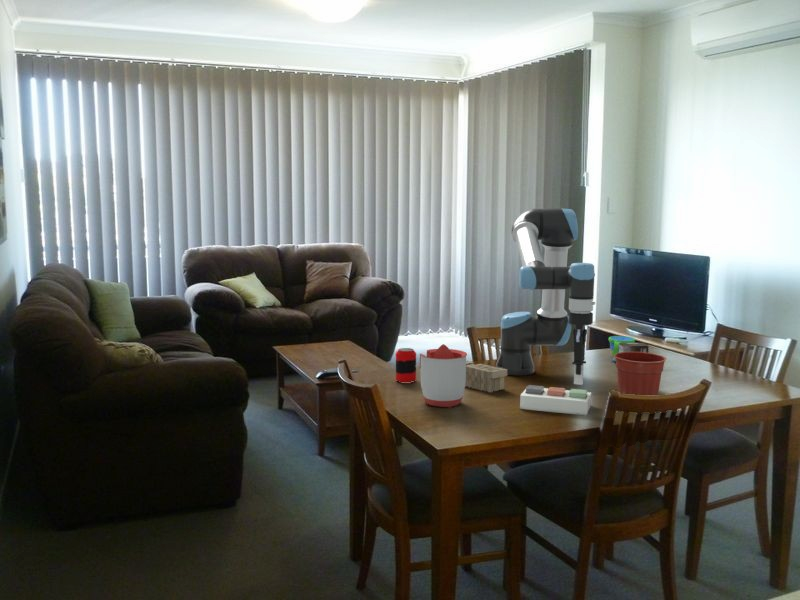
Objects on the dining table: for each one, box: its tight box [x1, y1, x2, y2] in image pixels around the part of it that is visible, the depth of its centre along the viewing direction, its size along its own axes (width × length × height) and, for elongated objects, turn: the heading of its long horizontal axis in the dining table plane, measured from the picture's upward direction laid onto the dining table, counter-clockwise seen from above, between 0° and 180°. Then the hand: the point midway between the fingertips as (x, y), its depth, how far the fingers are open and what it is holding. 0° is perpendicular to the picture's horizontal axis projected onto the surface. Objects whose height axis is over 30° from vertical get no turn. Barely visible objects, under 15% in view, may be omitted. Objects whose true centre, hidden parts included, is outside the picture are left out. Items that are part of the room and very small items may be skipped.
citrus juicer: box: [416, 344, 468, 408], centre depth 249 cm, size 16×17×20 cm
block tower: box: [465, 360, 508, 393], centre depth 275 cm, size 8×8×29 cm
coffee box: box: [619, 342, 650, 353], centre depth 270 cm, size 9×6×16 cm
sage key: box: [569, 388, 588, 399], centre depth 242 cm, size 5×5×3 cm
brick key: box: [547, 386, 566, 397], centre depth 244 cm, size 5×5×3 cm
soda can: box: [395, 347, 417, 382], centre depth 279 cm, size 8×8×12 cm
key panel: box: [519, 387, 592, 416], centre depth 245 cm, size 21×12×4 cm, turn 70°
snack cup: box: [608, 335, 636, 364], centre depth 312 cm, size 16×10×10 cm
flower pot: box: [614, 352, 667, 396], centre depth 248 cm, size 16×16×16 cm
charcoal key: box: [525, 384, 545, 395], centre depth 247 cm, size 5×5×3 cm
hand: (578, 383), depth 241 cm, fingers closed
